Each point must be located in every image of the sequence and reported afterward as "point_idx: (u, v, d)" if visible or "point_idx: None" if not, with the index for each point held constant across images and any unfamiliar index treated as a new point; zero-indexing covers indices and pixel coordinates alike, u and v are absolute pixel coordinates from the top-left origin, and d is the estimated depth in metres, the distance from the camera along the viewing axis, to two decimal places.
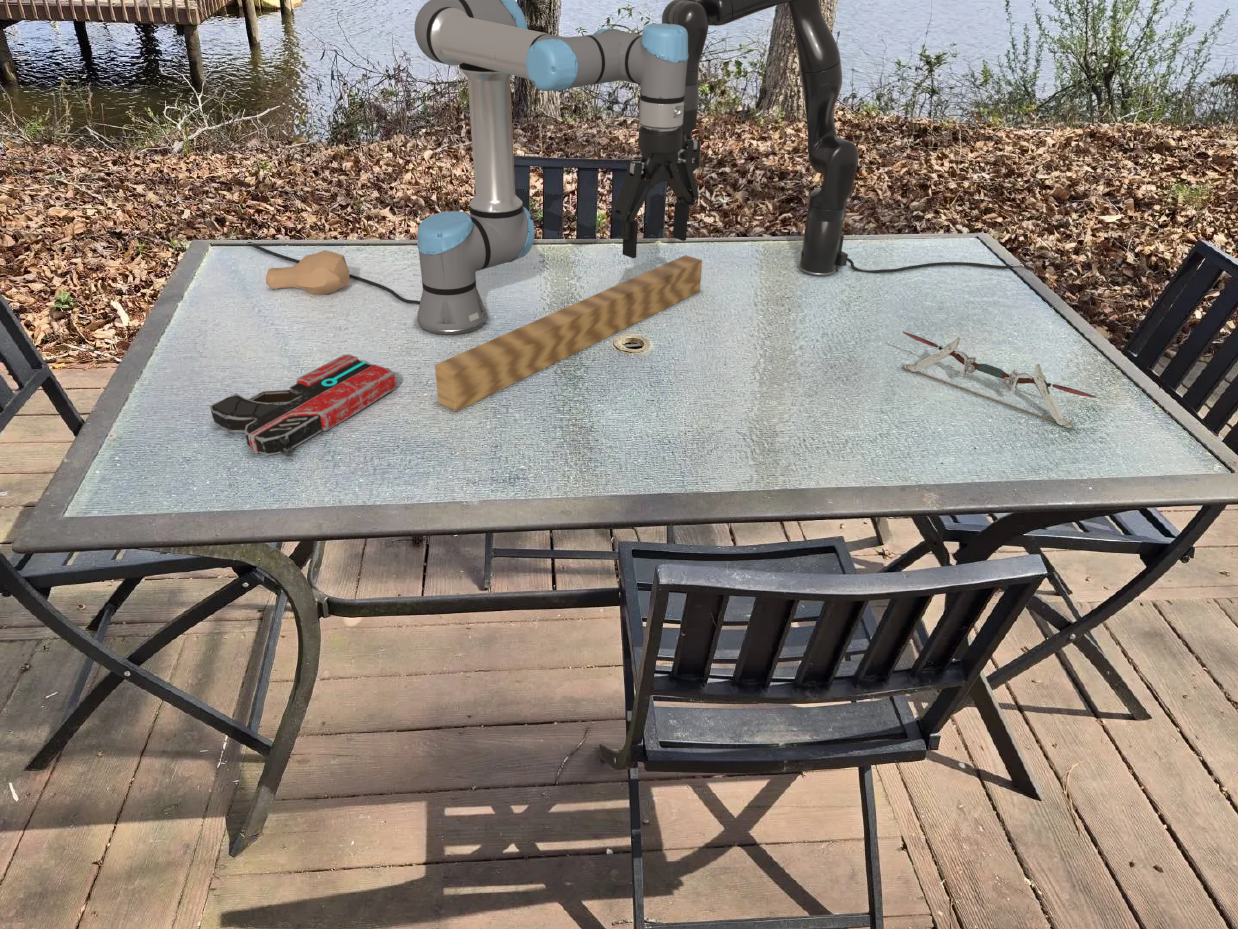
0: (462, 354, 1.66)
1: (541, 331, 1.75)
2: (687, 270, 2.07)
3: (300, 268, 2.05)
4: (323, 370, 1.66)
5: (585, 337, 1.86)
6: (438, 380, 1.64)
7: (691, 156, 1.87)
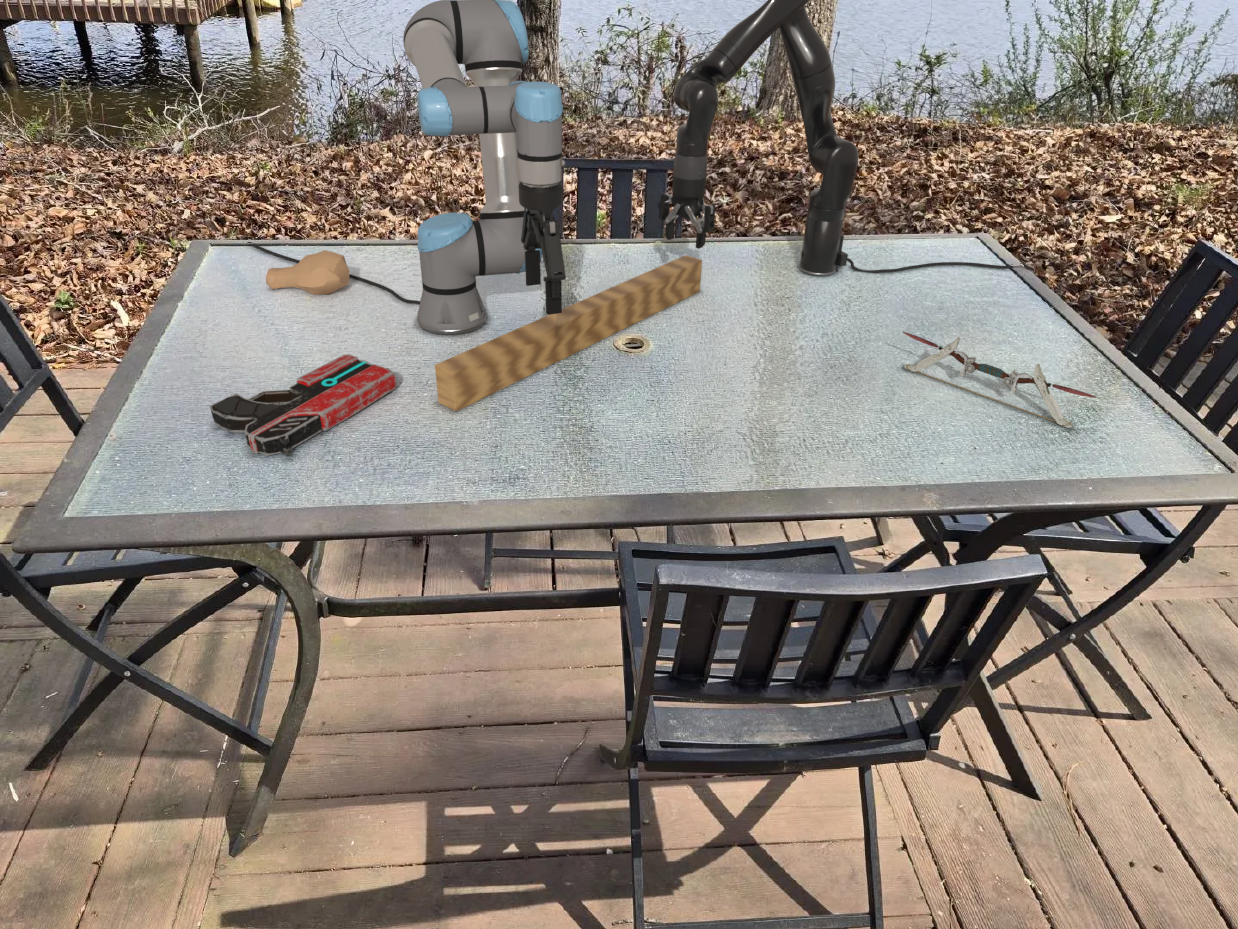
0: (462, 354, 1.66)
1: (541, 331, 1.75)
2: (687, 270, 2.07)
3: (300, 268, 2.05)
4: (323, 370, 1.66)
5: (585, 337, 1.86)
6: (438, 380, 1.64)
7: (709, 220, 1.98)
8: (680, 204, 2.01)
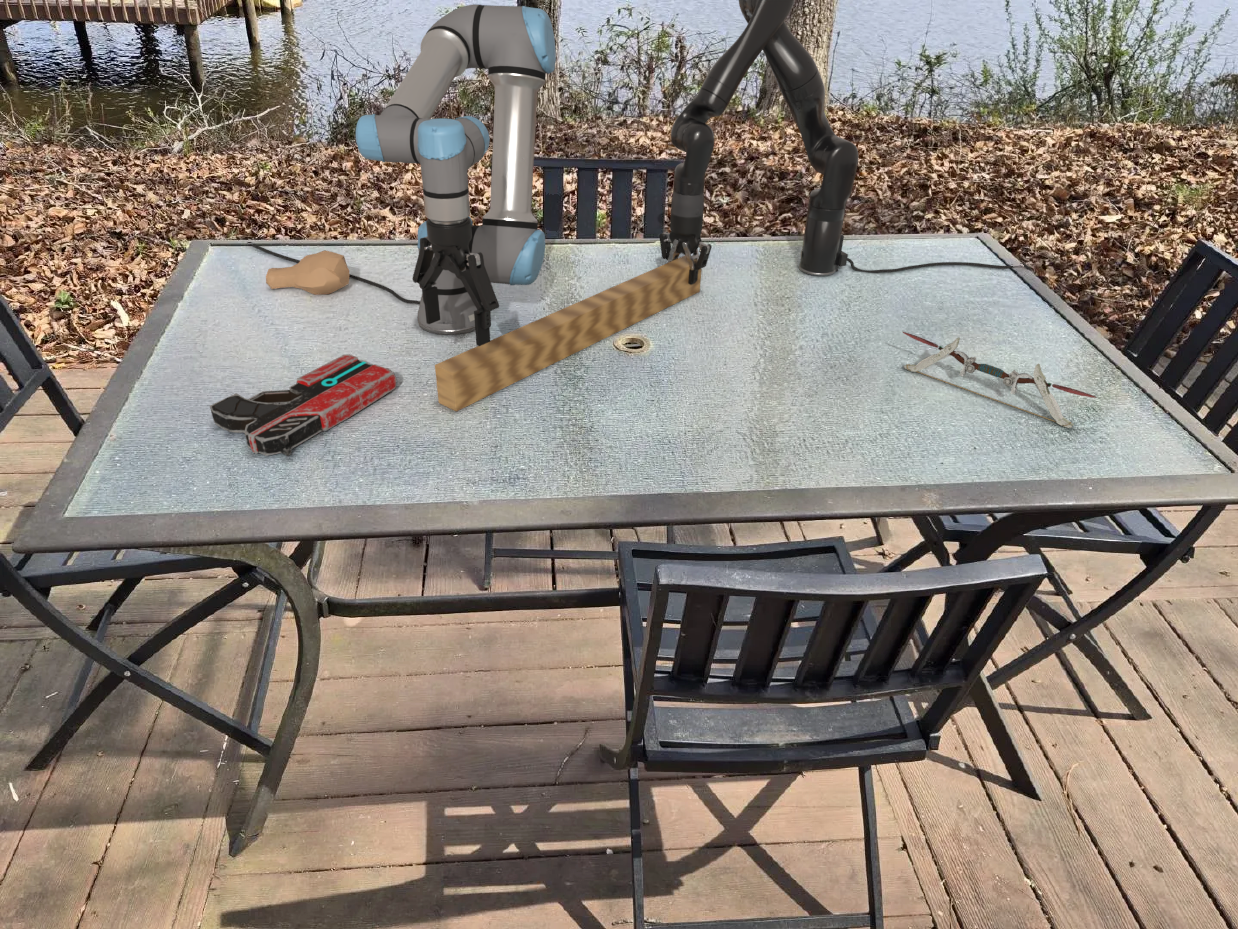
0: (462, 354, 1.66)
1: (541, 331, 1.75)
2: (687, 270, 2.07)
3: (300, 268, 2.05)
4: (323, 370, 1.66)
5: (585, 337, 1.86)
6: (438, 380, 1.64)
7: (703, 260, 2.04)
8: (678, 240, 2.06)
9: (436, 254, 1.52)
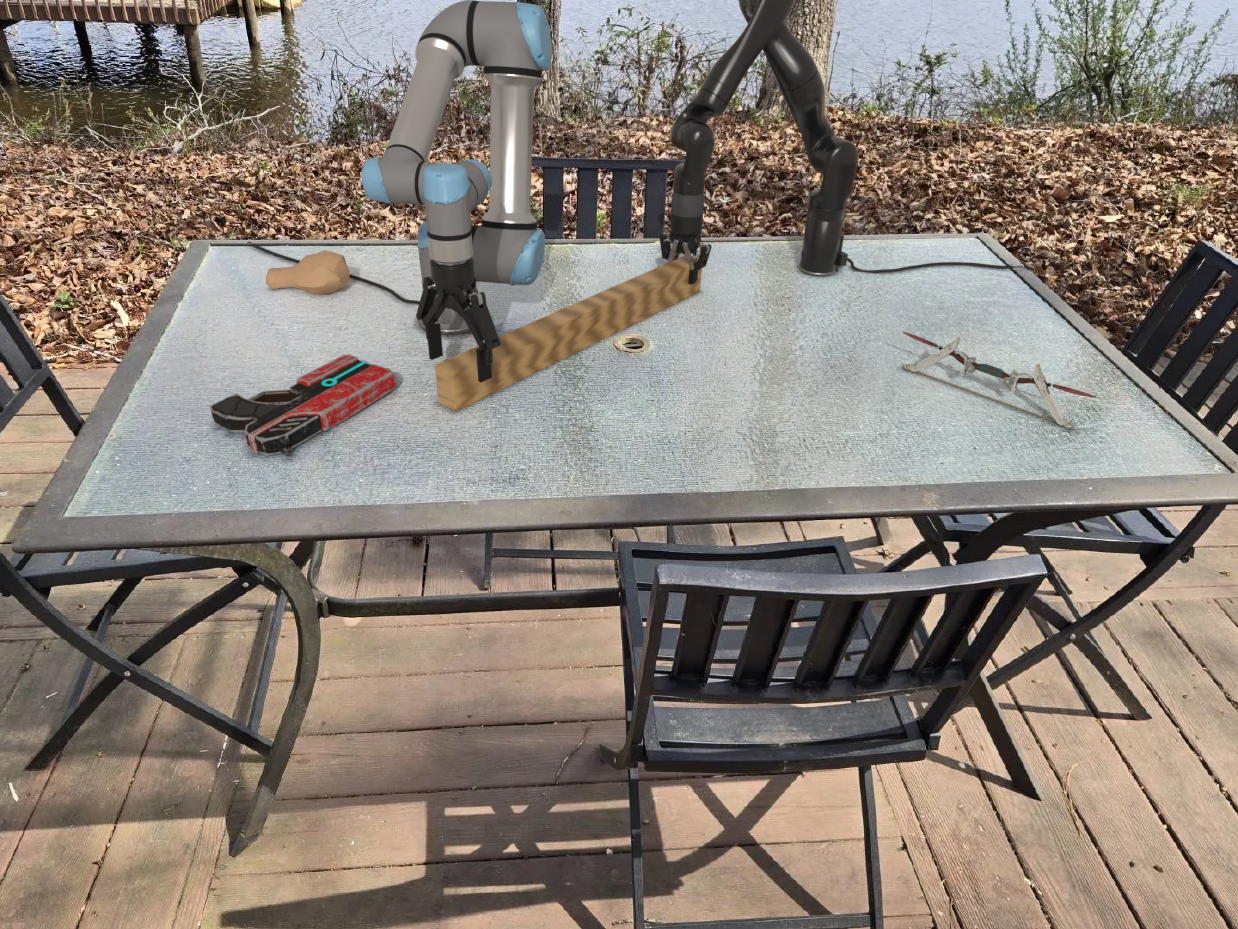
0: (462, 354, 1.66)
1: (541, 331, 1.75)
2: (687, 270, 2.07)
3: (300, 268, 2.05)
4: (323, 370, 1.66)
5: (585, 337, 1.86)
6: (438, 380, 1.64)
7: (703, 260, 2.04)
8: (678, 240, 2.06)
9: (439, 293, 1.55)
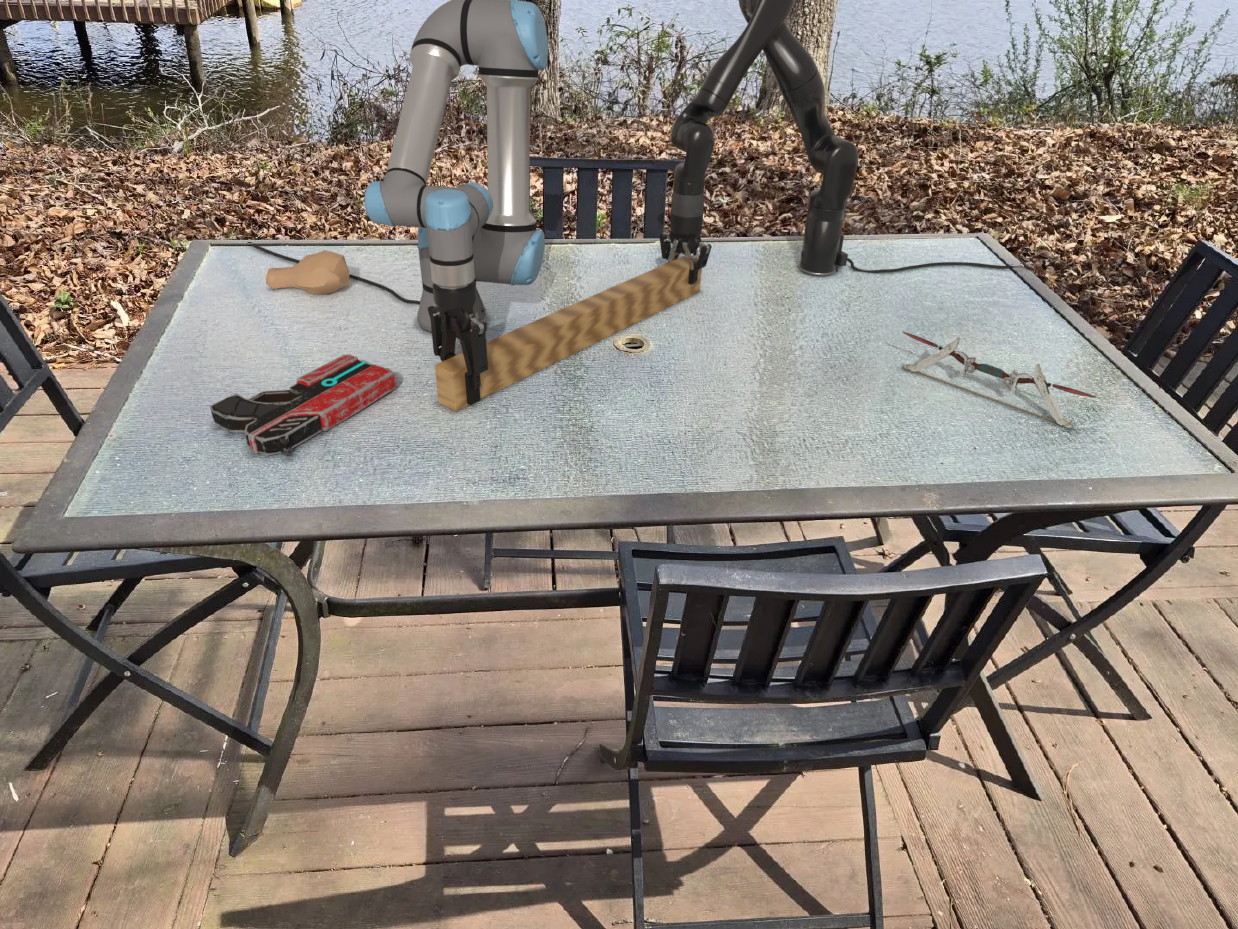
0: (462, 354, 1.66)
1: (541, 331, 1.75)
2: (687, 270, 2.07)
3: (300, 268, 2.05)
4: (323, 370, 1.66)
5: (585, 337, 1.86)
6: (438, 380, 1.64)
7: (703, 260, 2.04)
8: (678, 240, 2.06)
9: (442, 315, 1.58)
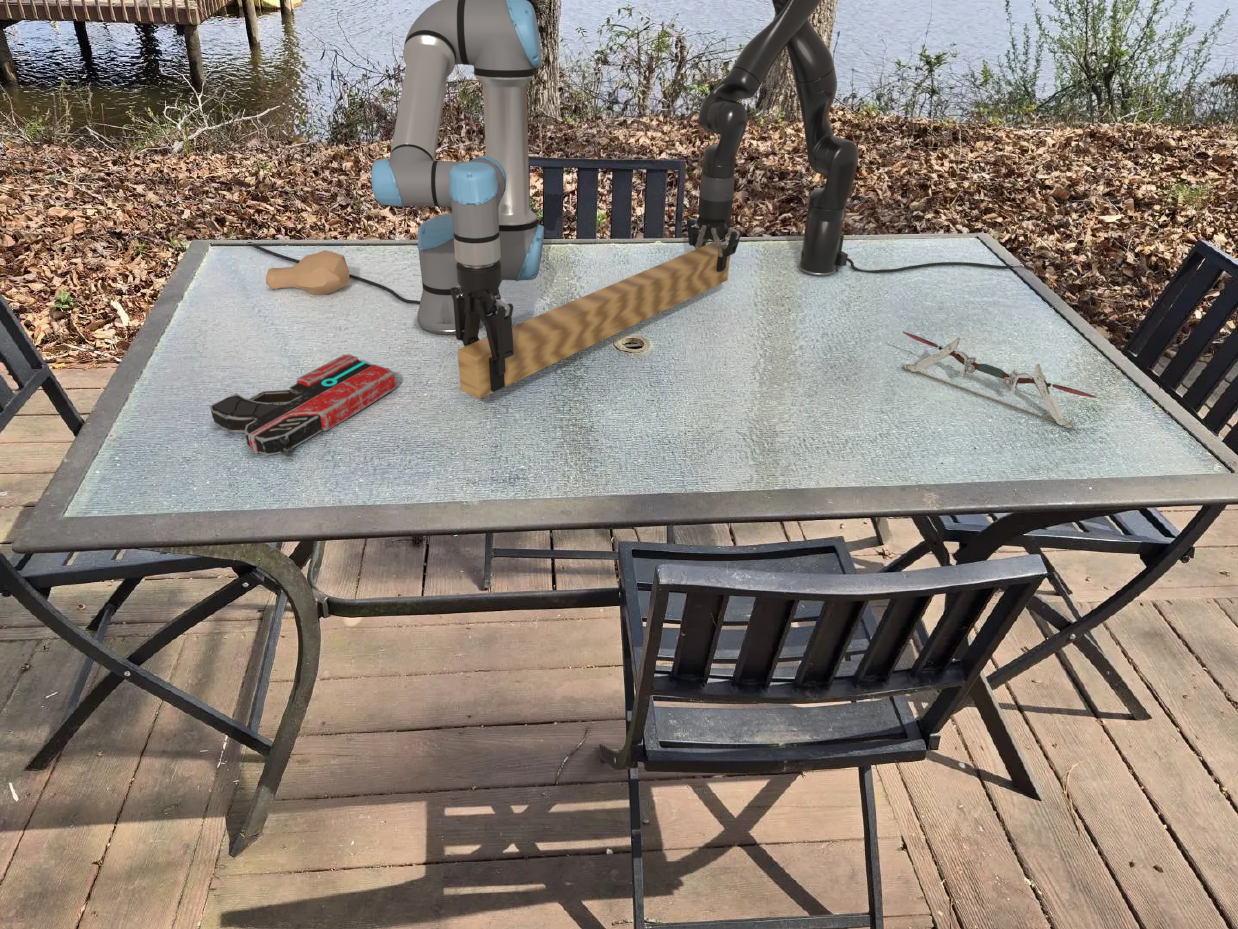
0: (486, 339, 1.58)
1: (567, 316, 1.67)
2: (716, 257, 1.99)
3: (300, 268, 2.05)
4: (323, 370, 1.66)
5: (611, 324, 1.78)
6: (461, 366, 1.55)
7: (732, 246, 1.96)
8: (706, 226, 1.97)
9: (466, 297, 1.50)
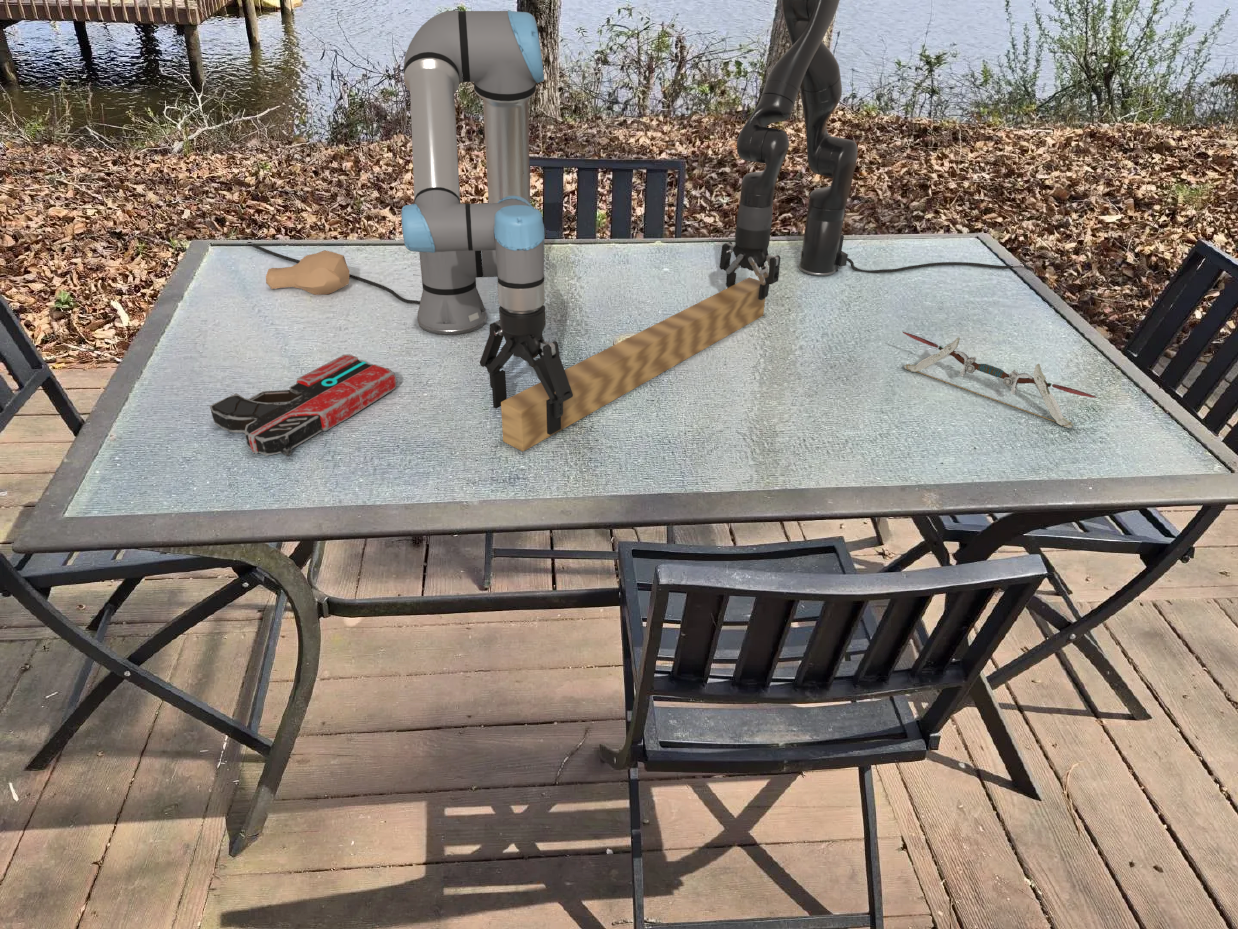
0: (529, 390, 1.55)
1: (609, 363, 1.64)
2: (753, 294, 1.96)
3: (300, 268, 2.05)
4: (323, 370, 1.66)
5: (651, 368, 1.75)
6: (504, 418, 1.52)
7: (774, 272, 1.91)
8: (743, 255, 1.93)
9: (508, 341, 1.45)
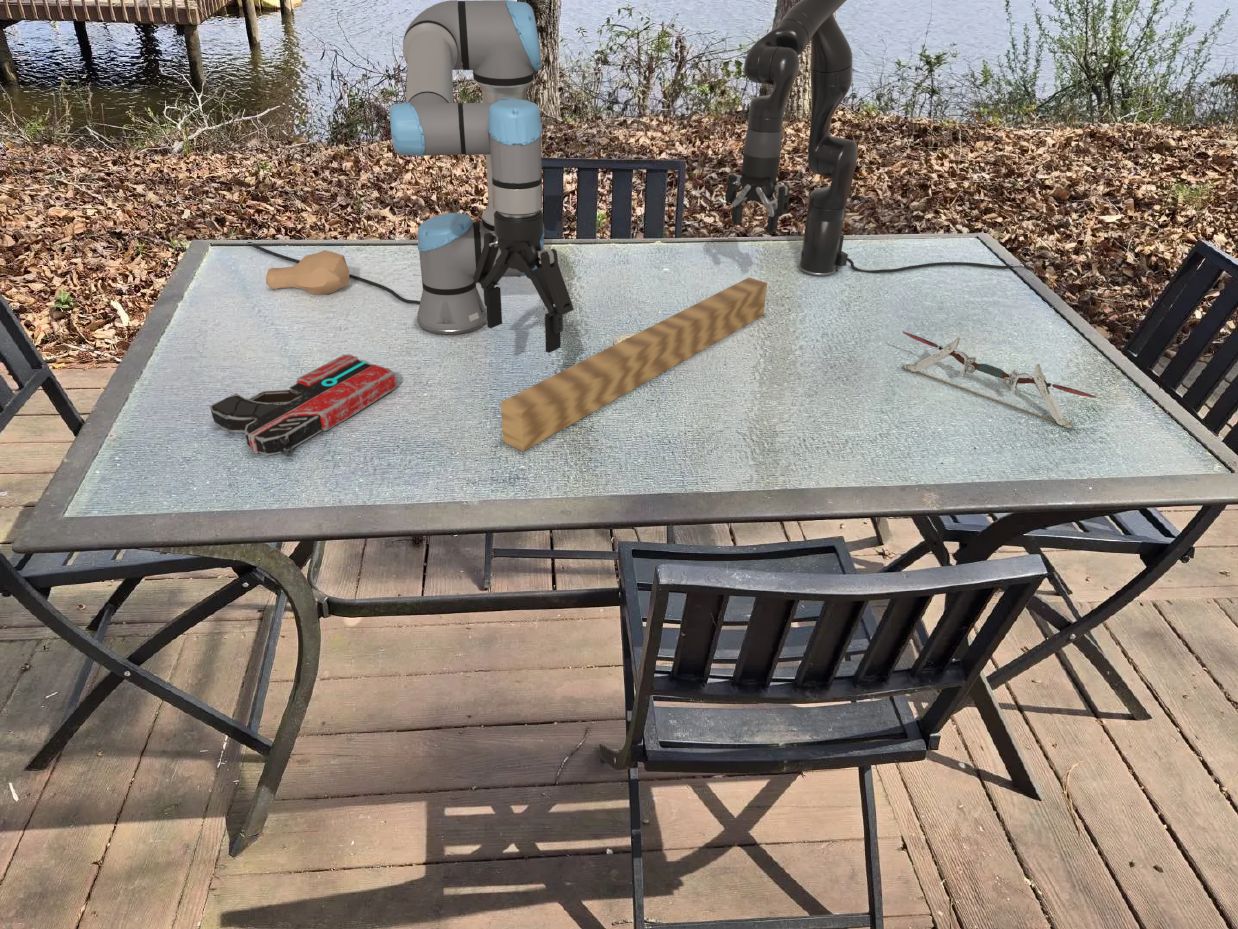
0: (529, 390, 1.55)
1: (609, 363, 1.64)
2: (753, 294, 1.96)
3: (300, 268, 2.05)
4: (323, 370, 1.66)
5: (651, 368, 1.75)
6: (504, 418, 1.52)
7: (783, 202, 1.82)
8: (750, 185, 1.85)
9: (503, 251, 1.37)
